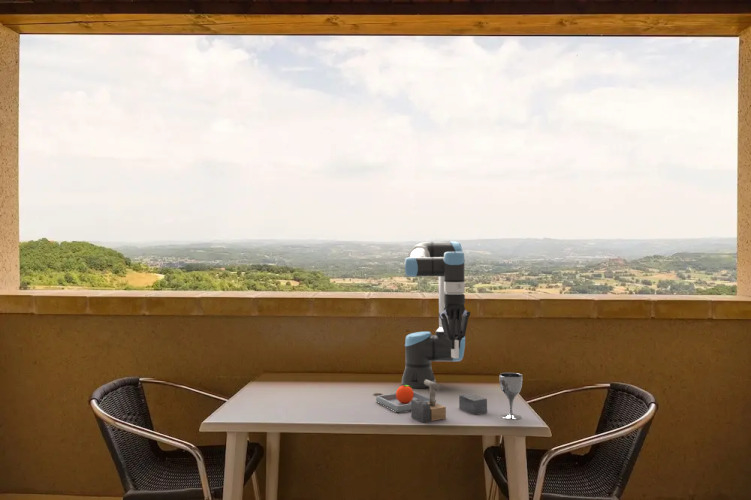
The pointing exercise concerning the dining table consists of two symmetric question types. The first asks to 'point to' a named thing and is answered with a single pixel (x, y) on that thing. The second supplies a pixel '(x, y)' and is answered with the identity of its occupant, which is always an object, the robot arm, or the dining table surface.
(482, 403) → the frame
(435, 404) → the slider
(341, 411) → the dining table surface
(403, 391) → the clementine
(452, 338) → the robot arm
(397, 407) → the tray
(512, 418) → the wine glass
